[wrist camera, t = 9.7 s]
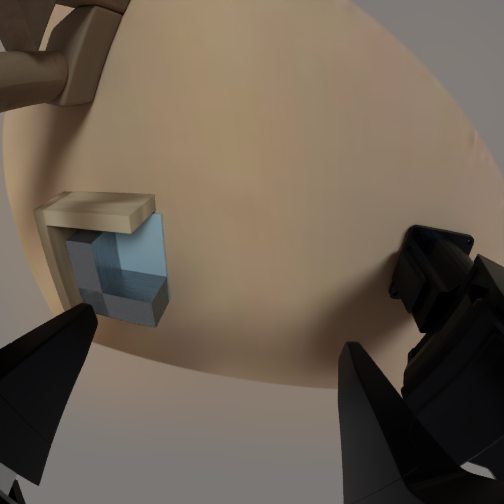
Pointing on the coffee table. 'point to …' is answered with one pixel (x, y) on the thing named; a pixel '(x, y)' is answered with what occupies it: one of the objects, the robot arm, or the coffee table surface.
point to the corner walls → (84, 217)
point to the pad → (144, 248)
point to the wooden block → (54, 51)
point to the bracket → (114, 280)
